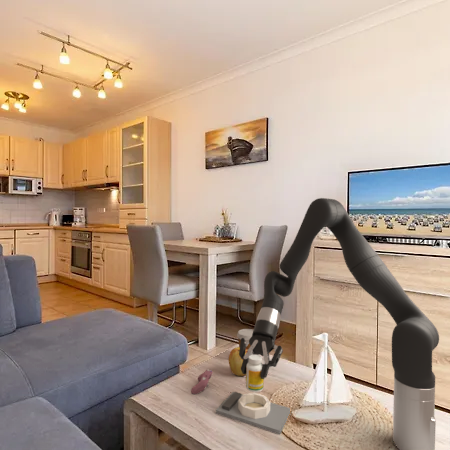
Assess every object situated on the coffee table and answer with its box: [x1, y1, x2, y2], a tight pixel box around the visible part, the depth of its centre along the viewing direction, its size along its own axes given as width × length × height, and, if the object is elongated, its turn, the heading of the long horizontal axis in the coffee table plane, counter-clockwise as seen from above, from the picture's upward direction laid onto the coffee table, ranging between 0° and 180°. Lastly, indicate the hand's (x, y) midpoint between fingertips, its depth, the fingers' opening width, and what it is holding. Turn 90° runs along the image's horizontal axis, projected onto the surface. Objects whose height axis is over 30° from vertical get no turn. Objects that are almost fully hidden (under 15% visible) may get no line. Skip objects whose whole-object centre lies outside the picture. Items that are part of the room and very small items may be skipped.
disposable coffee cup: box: [236, 328, 256, 355], centre depth 134 cm, size 10×10×12 cm
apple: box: [227, 346, 248, 377], centre depth 122 cm, size 9×9×10 cm
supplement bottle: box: [245, 355, 265, 393], centre depth 98 cm, size 5×5×10 cm
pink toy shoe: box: [190, 368, 214, 395], centre depth 111 cm, size 10×5×7 cm, turn 170°
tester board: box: [215, 391, 291, 435], centre depth 97 cm, size 20×12×4 cm, turn 63°
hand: (252, 375), depth 96 cm, fingers closed on supplement bottle, 5 cm apart
